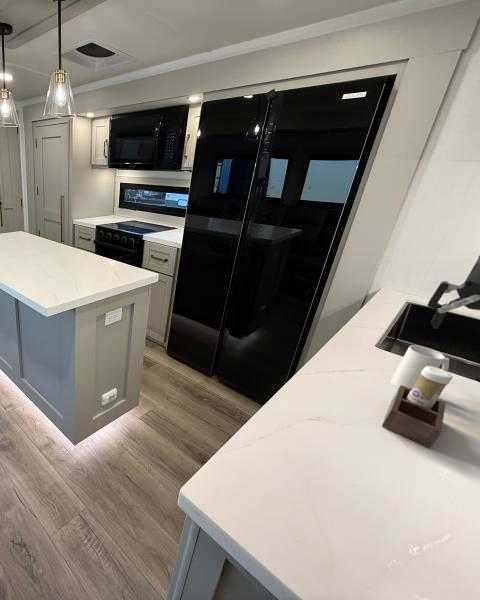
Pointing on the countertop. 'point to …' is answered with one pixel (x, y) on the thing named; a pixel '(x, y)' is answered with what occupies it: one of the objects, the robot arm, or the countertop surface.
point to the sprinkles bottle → (429, 386)
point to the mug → (417, 365)
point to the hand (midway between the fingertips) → (463, 334)
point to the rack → (414, 419)
